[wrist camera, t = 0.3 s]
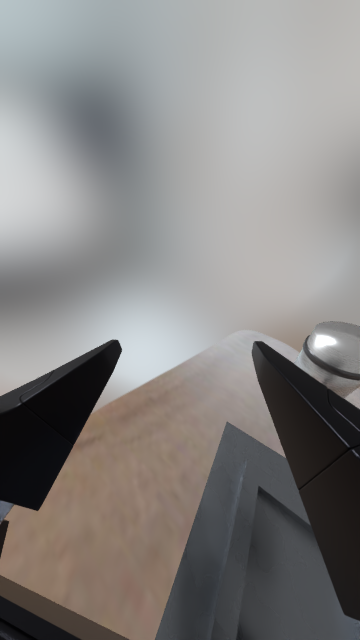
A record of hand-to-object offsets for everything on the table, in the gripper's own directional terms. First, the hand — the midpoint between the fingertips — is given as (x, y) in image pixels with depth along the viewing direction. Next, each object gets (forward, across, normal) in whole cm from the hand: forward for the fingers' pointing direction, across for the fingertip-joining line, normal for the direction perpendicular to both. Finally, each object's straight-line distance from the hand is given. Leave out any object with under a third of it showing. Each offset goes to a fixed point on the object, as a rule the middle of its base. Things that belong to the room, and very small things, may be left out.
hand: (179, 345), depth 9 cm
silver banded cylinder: (+6, -14, +16) cm, 22 cm away
